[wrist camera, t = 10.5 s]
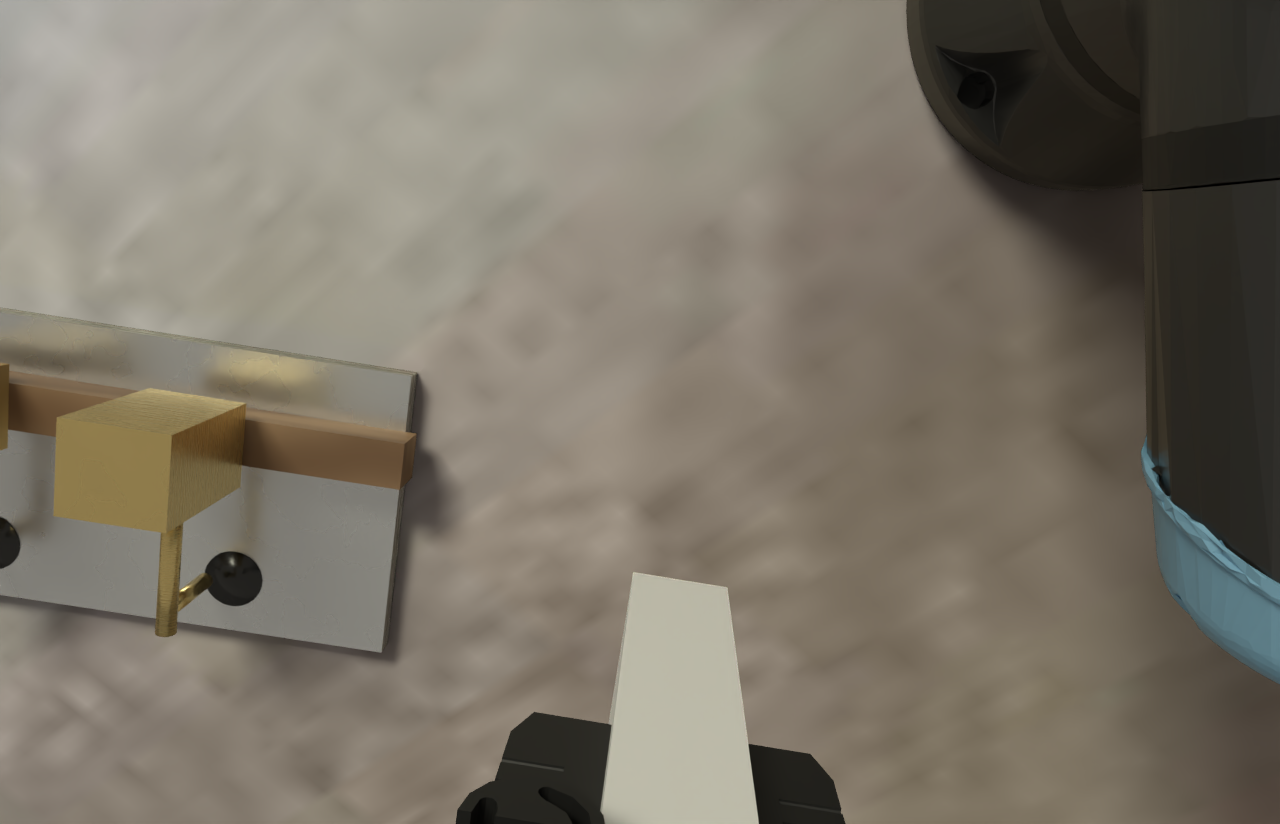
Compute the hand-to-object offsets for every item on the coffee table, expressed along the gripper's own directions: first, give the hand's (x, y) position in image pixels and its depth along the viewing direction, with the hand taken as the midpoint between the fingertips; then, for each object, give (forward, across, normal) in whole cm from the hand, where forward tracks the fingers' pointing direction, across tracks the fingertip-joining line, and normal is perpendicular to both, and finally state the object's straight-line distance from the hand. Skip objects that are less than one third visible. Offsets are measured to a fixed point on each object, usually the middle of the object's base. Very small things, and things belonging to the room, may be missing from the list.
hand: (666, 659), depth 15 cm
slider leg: (+25, -19, -8) cm, 32 cm away
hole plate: (+26, -22, -8) cm, 35 cm away
